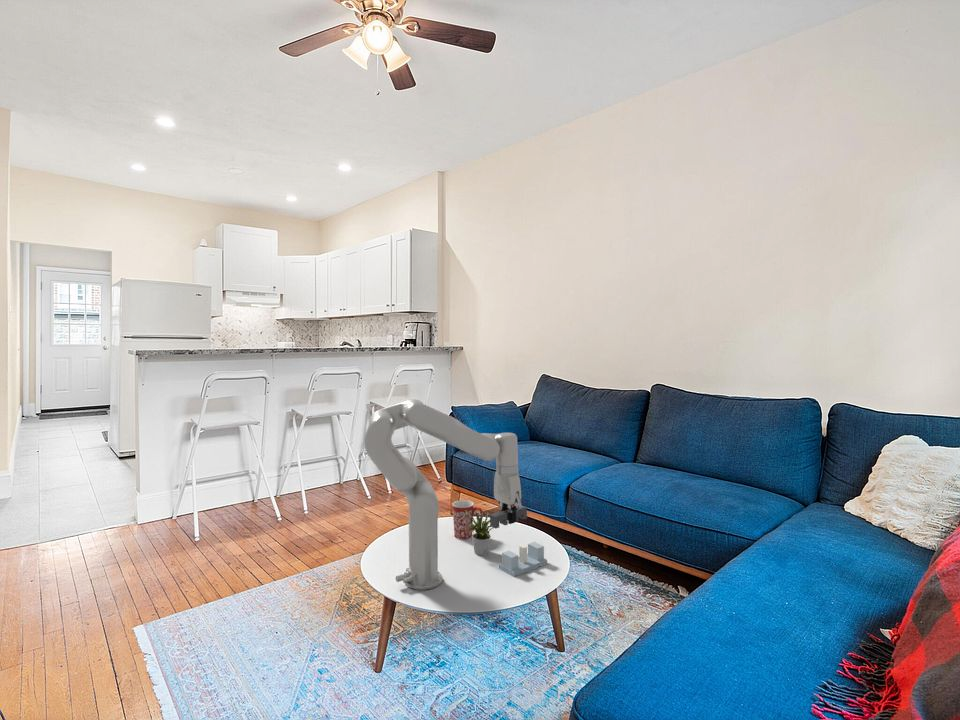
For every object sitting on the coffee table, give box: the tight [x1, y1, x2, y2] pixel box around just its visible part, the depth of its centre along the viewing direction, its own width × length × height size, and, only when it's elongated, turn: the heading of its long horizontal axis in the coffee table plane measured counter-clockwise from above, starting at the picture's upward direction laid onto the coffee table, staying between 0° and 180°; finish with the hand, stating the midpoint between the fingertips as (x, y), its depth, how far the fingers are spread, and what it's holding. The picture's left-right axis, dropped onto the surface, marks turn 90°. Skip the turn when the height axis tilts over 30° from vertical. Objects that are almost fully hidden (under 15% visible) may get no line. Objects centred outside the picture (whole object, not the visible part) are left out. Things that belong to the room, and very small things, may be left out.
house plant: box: [463, 510, 494, 556], centre depth 189 cm, size 14×14×16 cm
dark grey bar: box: [489, 505, 528, 529], centre depth 173 cm, size 14×3×4 cm, turn 126°
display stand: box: [498, 541, 548, 577], centre depth 178 cm, size 16×8×7 cm, turn 127°
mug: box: [451, 499, 484, 540], centre depth 205 cm, size 13×9×14 cm
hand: (508, 520), depth 173 cm, fingers closed on dark grey bar, 3 cm apart
